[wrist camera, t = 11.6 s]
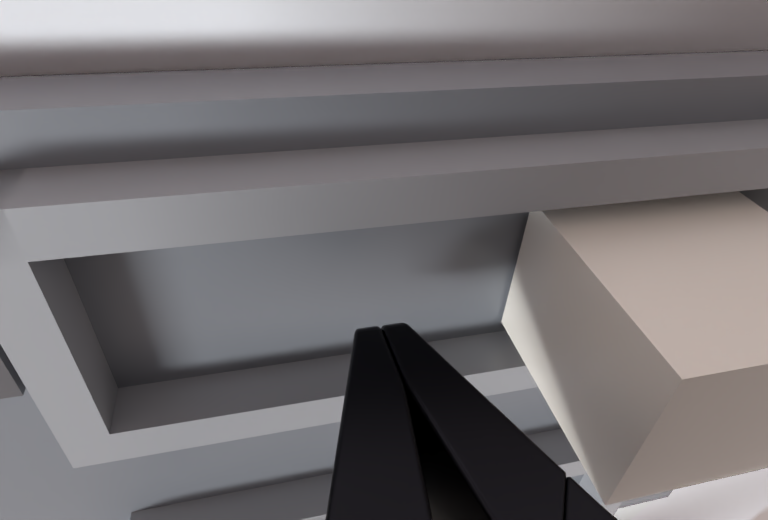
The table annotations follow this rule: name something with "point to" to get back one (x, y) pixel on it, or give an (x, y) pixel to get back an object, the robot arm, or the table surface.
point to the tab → (649, 337)
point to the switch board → (303, 254)
